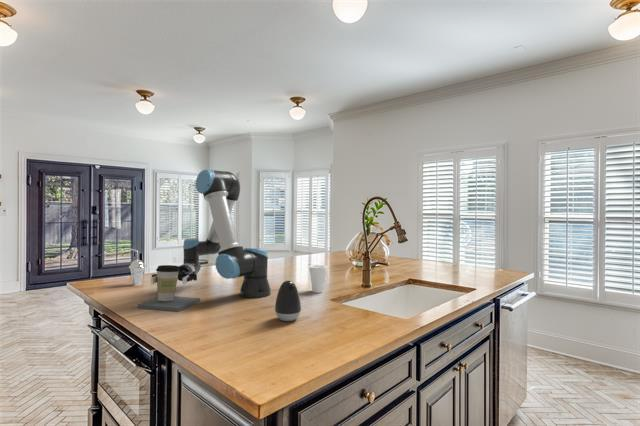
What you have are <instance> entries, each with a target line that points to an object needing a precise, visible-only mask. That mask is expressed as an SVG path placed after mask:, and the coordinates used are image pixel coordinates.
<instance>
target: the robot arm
mask: <svg viewBox="0 0 640 426" xmlns="http://www.w3.org/2000/svg"><path fill="white" fill-rule="evenodd" d="M195 189H196V191H197V192H198V193H199V194H202V195H203V198H204V199H203V200H204V201H207V202H208V205H209V209H210V213H211V217H212V221H211V222H212V223H211V226H210V228H209V231H208V234H207V237H206V239H205V241H204V240H203V241H202V240H201V241H200V239H198V238H191V237H190V238H184V240H183V246H182V247H183V264H181V265H179V266H178V267H179V269H180V271H179V272H178V279H177V281H180V282H182V285H186V284H187V283H188V282H192V281H194V282H195V281H197V280H198V277H197V276H198V273H199V272H200V271H201V268H202V266H201V263H200V261H199V259H200V257H201V256H206V255H215V254H218V256H216V259H215V264H214V265H215V269H216V271H217V273H218V274H219V276H221V277H222V278H223V279H227V280H229V279H236V278H239V277H240V278H241V277H243V279H242V283H241V287H240V288H239V289H240V290H239V295H240V296H241V297H243V298H250V299H255V298H256V299H257V298H264V297H268V296H270V295H271V294H272V293H271V292H272V288H271V285H270V282H269V280H268V259H269V256H268V251H267V249H265V248H256V247H244V246H243V245H241V244H240V243H239V240H238V237H237V236H238V235H237V234H236V229H235V226H234V221H233V218H232V214H231V213H232V211H233V209H234V208H233V207H234V206H235V203H236V202H237V201H238V199H239V196H240V192H241V184H240V180H239V178H238V176H237V175H236V174H234V173H232V172H230V171H227V170H226V171H225V170H217V169H202V170H201V171H200V172H199V173H198V174H197V176H196V179H195ZM154 284H157V273H154V274H152V275H151V278H150V285H154Z"/></svg>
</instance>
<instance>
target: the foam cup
mask: <svg viewBox="0 0 640 426" xmlns="http://www.w3.org/2000/svg"><path fill="white" fill-rule="evenodd" d="M308 269H309V275H310V276H309V277H310V283H311V284H310V285H311V292H312V293H315V294H316V293H317V294H318V293H319V294H321V293H324V292H325V289H326V281H327V275H328V271H329V269H328V265H324V264H312V265H309V267H308Z"/></svg>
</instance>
